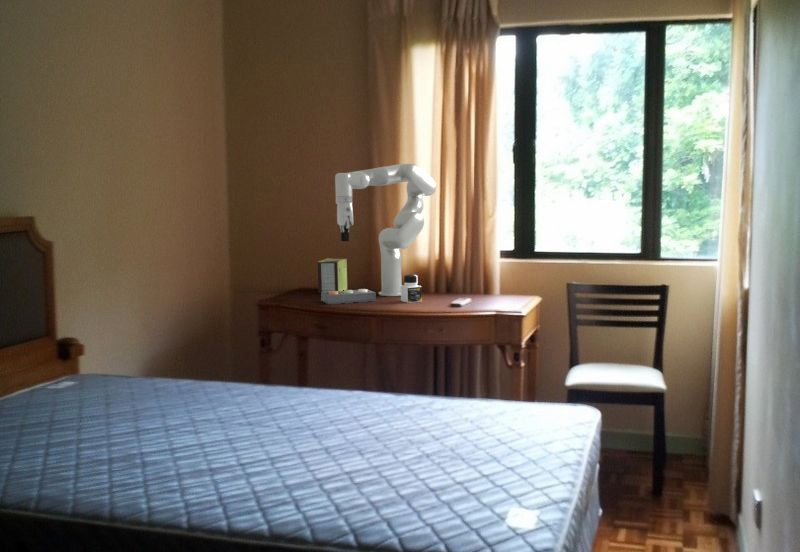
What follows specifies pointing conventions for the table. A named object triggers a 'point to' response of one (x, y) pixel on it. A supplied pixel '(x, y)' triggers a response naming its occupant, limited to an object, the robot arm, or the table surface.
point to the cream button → (362, 290)
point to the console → (348, 297)
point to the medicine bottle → (411, 289)
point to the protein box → (332, 275)
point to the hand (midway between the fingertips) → (345, 241)
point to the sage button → (348, 291)
